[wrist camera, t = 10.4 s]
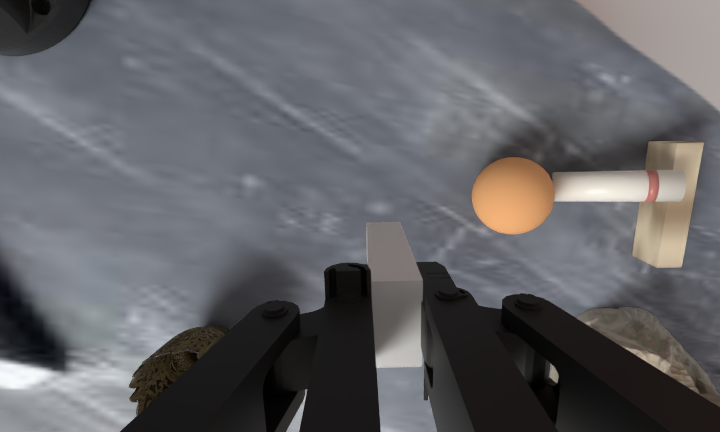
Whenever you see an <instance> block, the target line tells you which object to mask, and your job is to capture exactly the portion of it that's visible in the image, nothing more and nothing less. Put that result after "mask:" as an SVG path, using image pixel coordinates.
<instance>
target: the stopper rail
mask: <svg viewBox="0 0 720 432" xmlns="http://www.w3.org/2000/svg"><path fill="white" fill-rule="evenodd" d="M703 145H704V143H702V142H685V141H649V143H648V150H647V156H646V163H645V170H649V169H655V170H680V169H681V170H683V171H684V173H685V177H686V191H685V195H684V197H683V199H682V200H681V201H680V202H640V205H639V211H638V218H637V225H636V232H635V239H634V246H633V253H632V256H634V257H636V258H638V259H640V260H642V261H644V262H646V263H648V264H650V265H652V266H655V267H657V268H667V267H682V263H683V257H684V251H685V246H686V240H687V235H688V229H689V223H690V218H691V212H692V207H693V201H694V195H695V190H696V184H697V179H698V173H699V167H700V162H701V156H702V151H703Z"/></svg>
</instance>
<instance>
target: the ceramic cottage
mask: <svg viewBox="0 0 720 432" xmlns="http://www.w3.org/2000/svg"><path fill="white" fill-rule="evenodd" d="M576 318H577V319H578V320H580V321H582V322H583V323H585V324H586V325H588V326H590V327H591V328H593V329H595V330H596V331H598V332H599V333H601V334H603V335H604V336H606V337H607V338H609V339H611V340H612V341H614V342H615V343H617V344H619V345H620V346H622V347H624V348H625V349H627V350H628V351H630V352H632V353H633V354H635V355H636V356H638V357H640V358H641V359H643V360H645V361H646V362H648V363H649V364H651V365H653V366H654V367H656V368H657V369H659V370H661V371H662V372H664V373H666V374H667V375H669V376H670V377H672V378H674V379H675V380H677V381H678V382H680V383H682V384H683V385H685V386H687V387H688V388H690V389H691V390H693V391H695V392H696V393H698V394H699V395H701V396H703V397H704V398H706V399H708V400H709V401H711V402H712V403H714V404H716V405H717V406H719V407H720V394H719V393H718V392H717V391H716V389H715V386H714V385H713V384H712V383H711V380H710V378H709V376H708V374H707V373H706V372H705V371H704V370H703V369H702V368H701V367H700V366H699V365H698V363H697V361H696V360H694V359H693V358H692V357H691V356H690V355H689V354H688V353H687V352H686V351H685V350H684V349H683V347H682V345H681V344H680V343H679V342H678V341H676V340H675V339H674V338H673V337H672V335H671V334H670V333H669V332H668V331H667V330H666V329H665V328H664V327H663V325H662V324H661V323H660V322H659V320H658V319H657V318H656V317H655V316H654V315H652V314H651V313H649V312H648V311H646V310H644V309H641V308H637V307H629V306H628V307H623V308H622V307H619V308H618V309H613V308H605V307H604V309H603V308H599V309H598V308H596V309H592V310H588V311H586V312H584V313H582V314H581V315H579V316H578V317H576ZM549 377H550V378H551V379H552V380H553V381H554V382H556V383H557V382H558V377H559V375H558V373H557V371H556V369H555V367H554V366H553V365H552V368H551V371H550V374H549Z"/></svg>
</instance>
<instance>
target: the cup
mask: <svg viewBox="0 0 720 432" xmlns="http://www.w3.org/2000/svg"><path fill="white" fill-rule="evenodd" d="M227 333H228V331H227V330H226V329H224V328H222V327H219V326H209V327H196V328H192V329H189V330H186V331H184V332H182V333H180V334H178V335H177V336H175V337H174V338H172V339H171V340H170V341H168V342H167V343H166V344H165V345H163V346H162V347H161V348H160V349H158V350H157V351H156V352H155V353H154V354H153V355H151V356H150V357H149V358H148V359H146V360H145V361H144V362H142V365H141V366H140V367H139V368H138V369H137V370H136V372H135V373H134V374H133V376H132V377H134V378H133V379H132V381H131V383H130V384H129V388H136V390H135V391H134V393H133V394H132V395H131V397H130V401H131V402H138V406H137V410H136V415H137V416H138V415H139V414H140V413H141V412H142V411H143V410H144V409H145V408H146V407H147V406H149V405H150V404H151V403H152V402H153V401H154V400H155V399H156V398H157V397H158V396H159V395H160V394H162V393H163V392H164V391H165V390H166V389H167V388H168V387H169V386H170V385H171V384H172V383H173V382H175V381H176V380H177V379H178V378H179V377H180V376H181V375H182V374H183V373H184V372H185V371H186V370H188V369H189V368H190V367H191V366H192V365H193V364H194V363H195V362H196V361H197V360H198V359H199V358H201V357H202V356H203V355H204V354H205V353H206V352H207V351H208V350H209V349H210V348H211V347H212V346H214V345H215V344H216V343H217V342H218V341H219V340H220V339H221V338H222V337H223V336H224V335H225V334H227ZM136 400H138V401H136Z"/></svg>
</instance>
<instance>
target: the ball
mask: <svg viewBox="0 0 720 432" xmlns="http://www.w3.org/2000/svg"><path fill="white" fill-rule="evenodd" d="M554 199H555V191H554V186H553V183H552V180H551V178H550V176H549V175H548V173H547V172H546V171H545V170H544V169H543V168H542V167H541V166H540V165H538V164H537V163H535V162H533V161H531V160H528V159H525V158H520V157H508V158H503V159H500V160H497V161H495V162H493V163H491V164H490V165H488V166H487V167H486V168H484V169H483V170H482V172H481V173H480V174H479V175H478V177H477V179H476V181H475V183H474V186H473V190H472V203H473V207H474V210H475V212H476V214H477V216H478V217H479V218H480V220H481V221H482V222H483V223H484V224H485V225H486V226H488V227H489V228H491V229H493V230H495V231H497V232H500V233H505V234H521V233H525V232H528V231H530V230H533V229H534V228H536V227H538V226H539V225H540V224H541V223H542V222H543V221H545V219H546V218H547V217H548V215H549V214H550V212H551V210H552V207H553V204H554Z"/></svg>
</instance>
